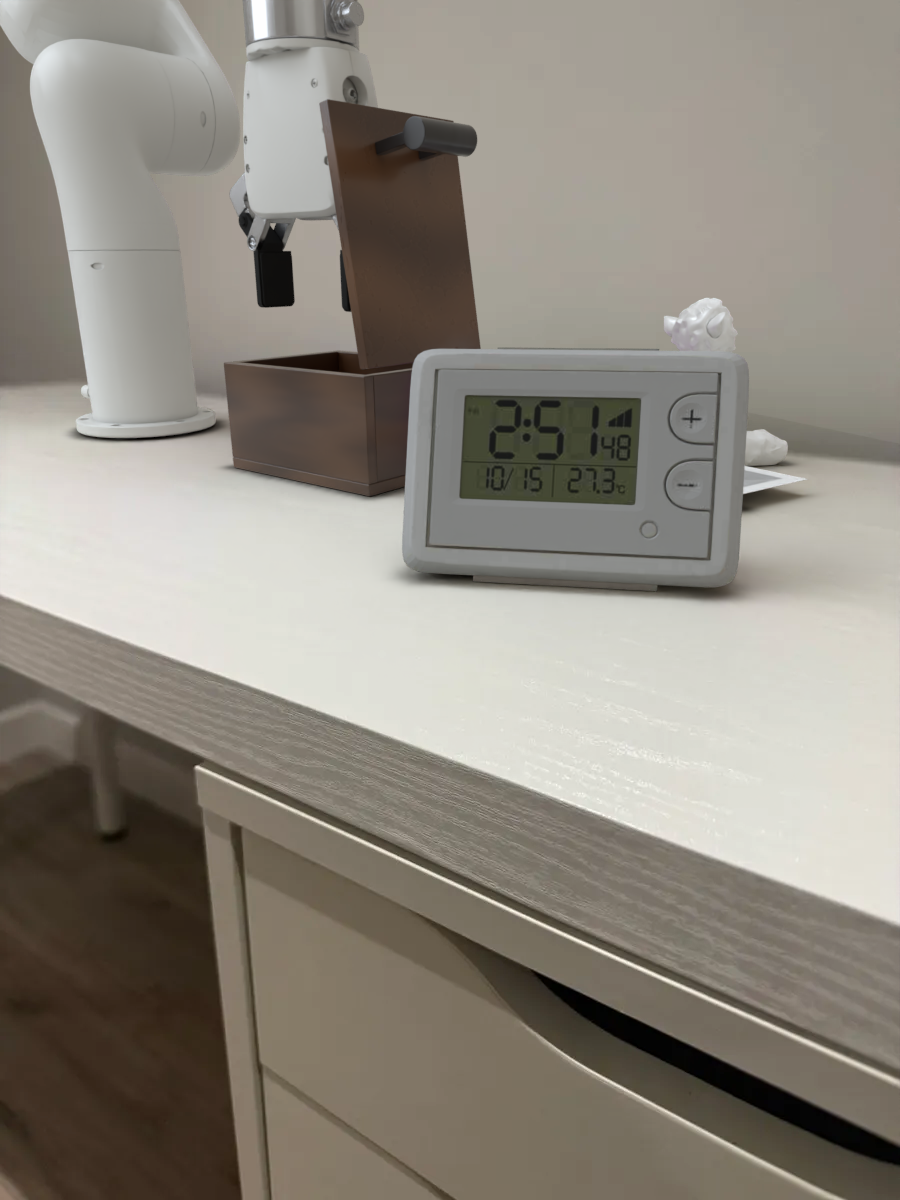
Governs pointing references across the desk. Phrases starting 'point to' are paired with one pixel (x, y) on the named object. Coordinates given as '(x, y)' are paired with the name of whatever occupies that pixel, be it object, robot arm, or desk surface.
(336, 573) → the desk surface
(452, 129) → the lid
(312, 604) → the desk surface
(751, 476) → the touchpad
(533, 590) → the desk surface
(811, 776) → the desk surface
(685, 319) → the seated beast figurine
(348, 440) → the chest
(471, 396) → the digital clock
